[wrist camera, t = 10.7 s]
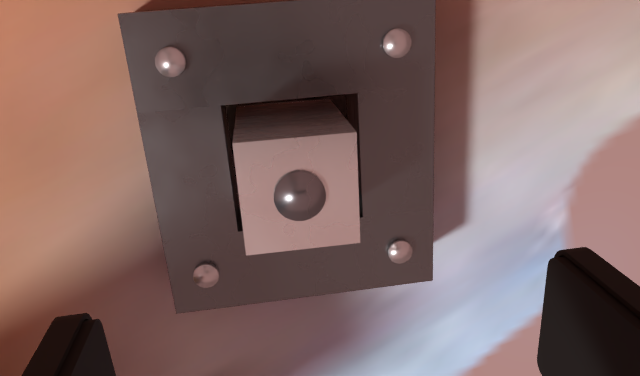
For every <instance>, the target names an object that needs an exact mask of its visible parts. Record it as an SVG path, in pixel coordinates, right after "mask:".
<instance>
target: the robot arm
mask: <svg viewBox="0 0 640 376" xmlns="http://www.w3.org/2000/svg"><path fill="white" fill-rule="evenodd" d="M537 363H538V367H539V370H540V372H541V374H542V376H640V286H638V285H637V284H636V283H634V282H633V281H632V280H630V279H629V278H628V277H626V276H625V275H624V274H622V273H621V272H620V271H618V270H617V269H616V268H614V267H613V266H612V265H610V264H609V263H608V262H606V261H605V260H604V259H603V258H601V257H600V256H599V255H597V254H596V253H594V252H593V251H592V250H590V249H588V248H586V247H582V248H574V249H566V250H560V251H558V252H557V253H556V254H555V257H554V258H552V259H550V261H549V262H548V268H547V277H546V285H545V294H544V303H543V312H542V320H541V329H540V338H539V347H538V355H537ZM22 376H116V374H115V371H114V367H113V363H112V359H111V356H110V352H109V348H108V345H107V341H106V337H105V333H104V330H103V326H102V323H101V321H100V320H99V319H94V320H92V318H91V316H90V315H89V314H87V313H83V314H76V315H68V316H60V317H56V318H55V319H54V320H53V322H52V323H51V325H50V327H49V329H48V330H47V332H46V334H45V336H44V337H43V339H42V341H41V343H40V344H39V346H38V348H37V350H36V351H35V353H34V355H33V357H32V358H31V360H30V362H29V364H28V365H27V367H26V369H25V371H24V373H23V374H22Z"/></svg>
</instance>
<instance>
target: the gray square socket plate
mask: <svg viewBox="0 0 640 376" xmlns="http://www.w3.org/2000/svg"><path fill="white" fill-rule="evenodd" d="M435 2H436V0H290V1H277V2H263V3H250V4H236V5H222V6H209V7H195V8H181V9H168V10H154V11H141V12H129V13H120V14H118V18H119V23H120V28H121V33H122V38H123V44H124V49H125V54H126V59H127V64H128V69H129V74H130V79H131V84H132V89H133V95H134V100H135V105H136V110H137V115H138V120H139V125H140V130H141V135H142V140H143V146H144V151H145V156H146V161H147V166H148V171H149V176H150V181H151V186H152V191H153V197H154V202H155V207H156V212H157V217H158V222H159V227H160V232H161V237H162V242H163V248H164V253H165V258H166V263H167V268H168V273H169V278H170V283H171V288H172V293H173V299H174V304H175V309H176V314H177V313H185V312H192V311H200V310H208V309H216V308H223V307H231V306H239V305H247V304H254V303H262V302H270V301H278V300H285V299H293V298H301V297H309V296H316V295H324V294H332V293H339V292H347V291H355V290H363V289H370V288H378V287H386V286H394V285H401V284H409V283H417V282H425V281H432V280H433V193H434V97H435ZM341 94H346V95H347V115H348V122H349V123H350V125H351V126H352V127H353V128H354V130H355V131H356V132H357V159H358V188H359V217H360V243H354V244H345V245H336V246H328V247H319V248H310V249H301V250H292V251H283V252H274V253H265V254H256V255H247V256H246V251H245V242H244V234H243V226H242V218H241V210H240V208H239V203H238V196H237V188H236V181H235V173H234V166H233V158H232V151H231V143H230V136H229V128H228V121H227V114H226V106H225V105H232V104H243V103H254V102H265V101H276V100H287V99H298V98H309V97H319V96H330V95H341Z"/></svg>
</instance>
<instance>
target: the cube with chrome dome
mask: <svg viewBox="0 0 640 376" xmlns="http://www.w3.org/2000/svg"><path fill="white" fill-rule="evenodd" d="M232 145H233V153H234V161H235V169H236V177H237V186H238V194H239V202H240V210H241V218H242V226H243V234H244V242H245V251H246V256H247V255H256V254H265V253H274V252H283V251H292V250H301V249H310V248H319V247H328V246H336V245H345V244H354V243H360V217H359V188H358V159H357V132H356V131H355V130H354V128H353V127H352V126H351V125H350V123H349V122H348V121H347V120H346V118H345V117H344V116H343V115H342V113H341V112H340V111H339V110H338V108H337V107H336V106H335V105H334V103H333V102H332V101H331V100H330V98H329V99H317V100H305V101H293V102H281V103H269V104H257V105H245V106H237V110H236V118H235V126H234V134H233V142H232Z"/></svg>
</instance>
